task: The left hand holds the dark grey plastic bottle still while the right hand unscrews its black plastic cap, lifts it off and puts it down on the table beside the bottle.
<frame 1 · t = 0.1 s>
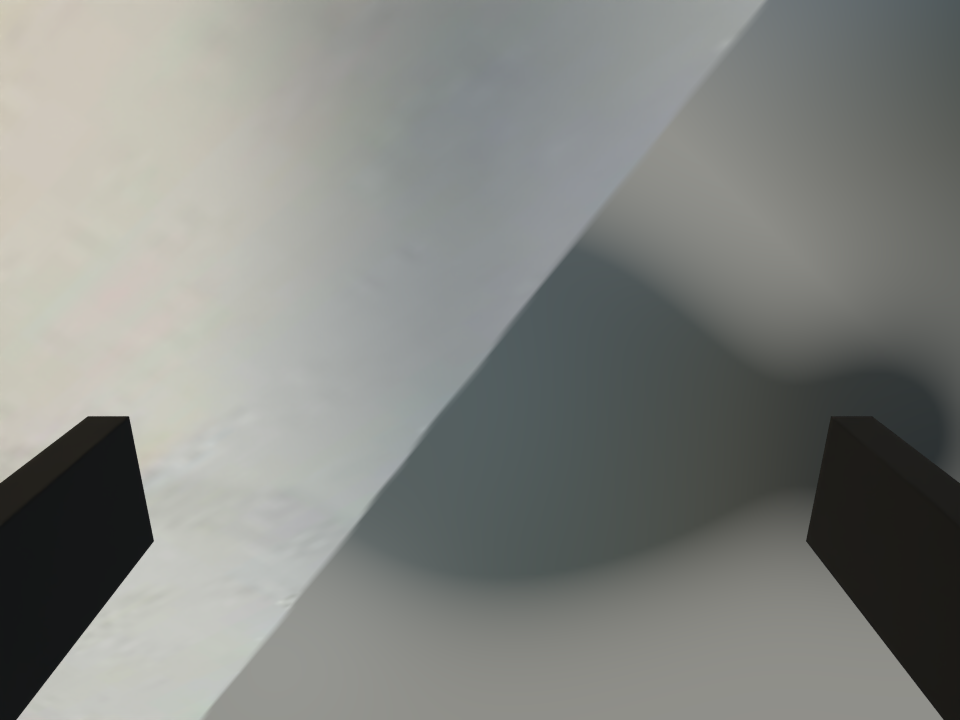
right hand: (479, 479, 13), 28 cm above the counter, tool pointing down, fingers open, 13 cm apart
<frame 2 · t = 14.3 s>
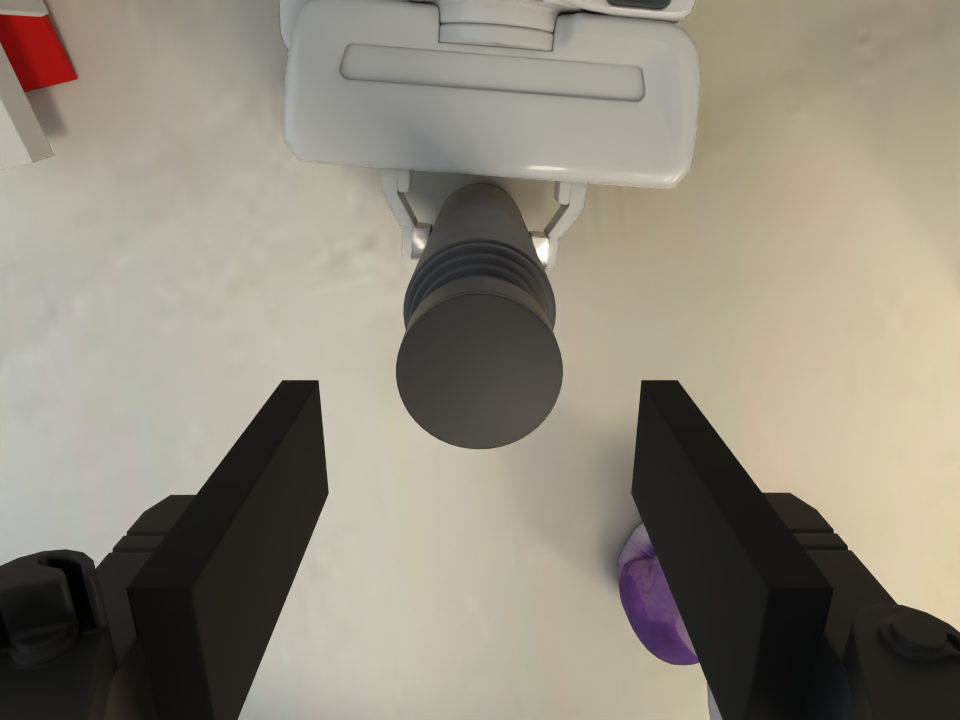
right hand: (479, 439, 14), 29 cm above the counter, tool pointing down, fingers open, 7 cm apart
left hand: (479, 262, 36), fingers closed on bottle, 5 cm apart
bottle: (479, 227, 42), on the counter, touching left hand
figurine: (666, 551, 50), on the counter
cap: (479, 371, 18), point 25 cm above the counter, screwed on, not yet turned
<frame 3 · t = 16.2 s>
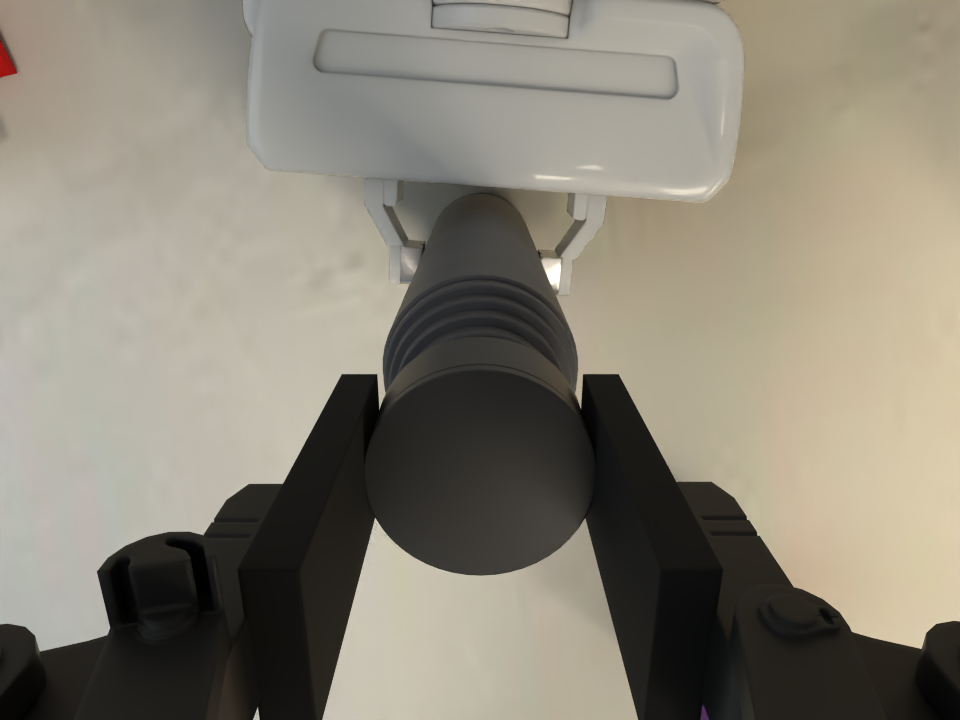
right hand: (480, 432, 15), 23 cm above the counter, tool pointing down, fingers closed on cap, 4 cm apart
left hand: (480, 287, 31), fingers closed on bottle, 5 cm apart
bottle: (480, 242, 37), on the counter, touching left hand
cap: (480, 471, 13), point 25 cm above the counter, screwed on, not yet turned, touching right hand
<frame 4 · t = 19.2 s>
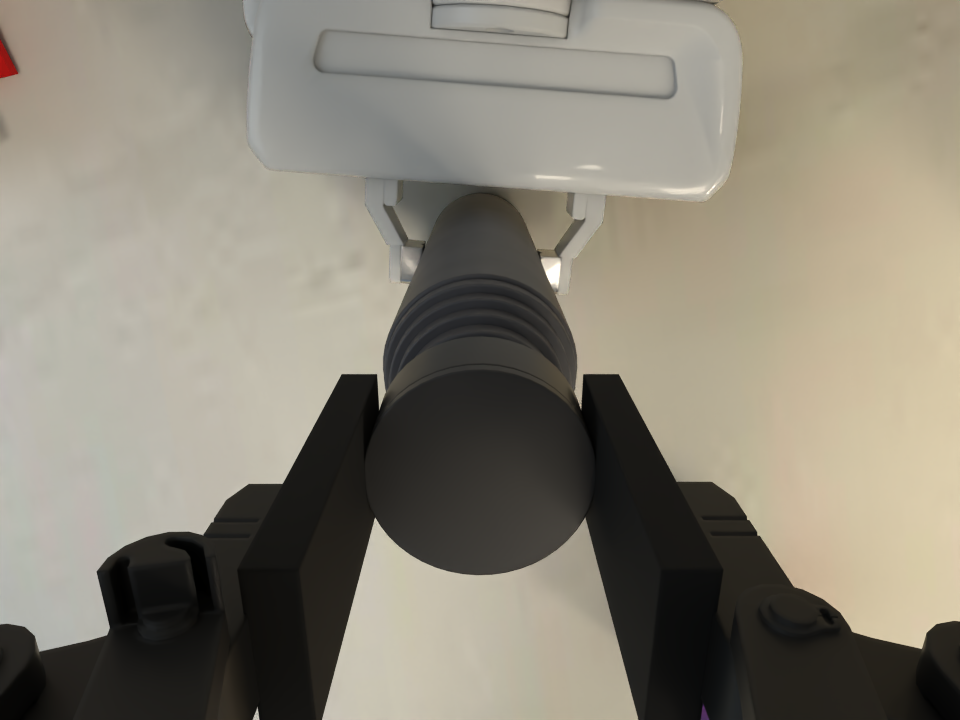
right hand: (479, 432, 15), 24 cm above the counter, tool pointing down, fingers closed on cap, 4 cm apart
left hand: (479, 286, 31), fingers closed on bottle, 5 cm apart
bottle: (480, 242, 37), on the counter, touching left hand
cap: (480, 471, 13), point 25 cm above the counter, turned 88° so far, risen 0.1 cm, still on its thread, touching right hand
when the right hand's fingers open (1 cm above the counter, at t = 36.2 s): cap stays where it is, point 2 cm above the counter.
when the left hand's fingers open (7 cm above the counter, at t = 37.5 s): bottle stays where it is, on the counter.
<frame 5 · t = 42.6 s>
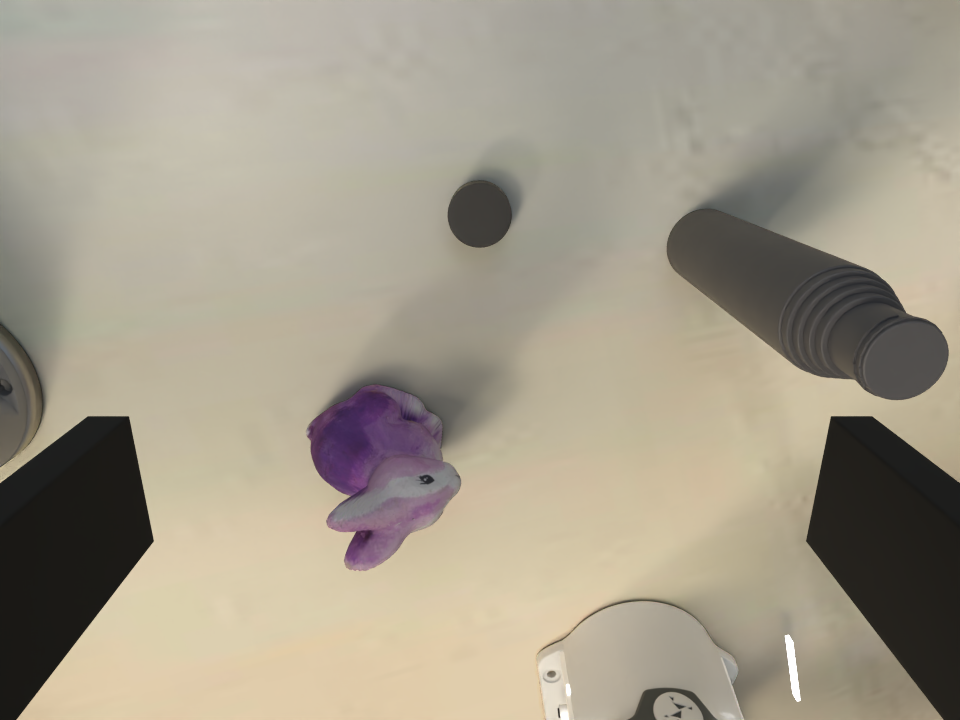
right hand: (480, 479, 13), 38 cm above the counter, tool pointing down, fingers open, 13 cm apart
bottle: (702, 245, 49), on the counter
figurine: (390, 424, 54), on the counter
cap: (479, 215, 47), point 2 cm above the counter, off its thread
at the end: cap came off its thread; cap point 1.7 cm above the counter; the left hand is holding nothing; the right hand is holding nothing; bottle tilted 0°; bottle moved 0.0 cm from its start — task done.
